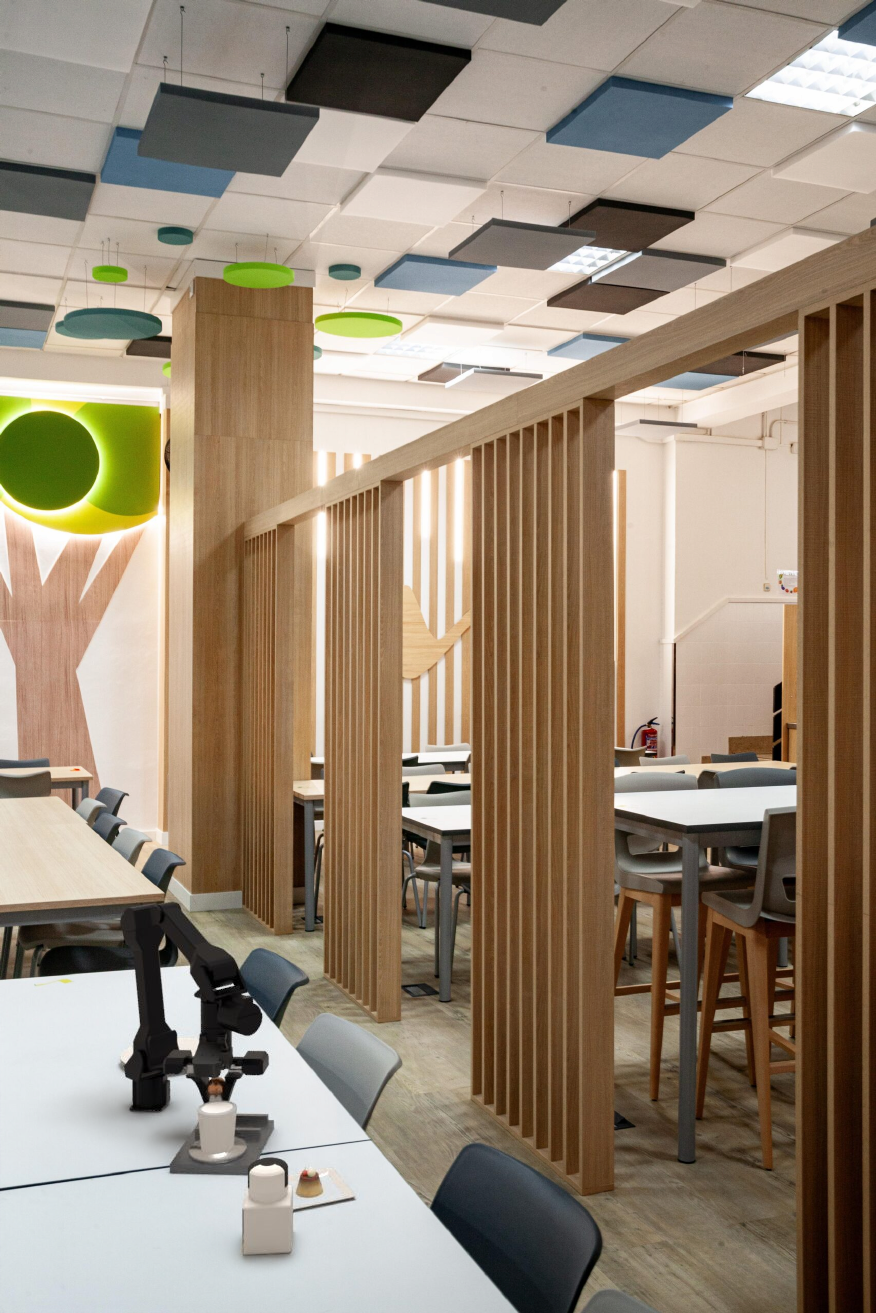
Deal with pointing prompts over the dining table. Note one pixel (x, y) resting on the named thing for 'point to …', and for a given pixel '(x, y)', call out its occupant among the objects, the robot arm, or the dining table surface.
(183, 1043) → the plate
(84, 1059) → the dining table surface
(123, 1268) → the dining table surface
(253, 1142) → the base
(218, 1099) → the press lever
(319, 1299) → the dining table surface
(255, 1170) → the medicine bottle
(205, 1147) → the white cup
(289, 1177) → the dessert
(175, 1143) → the dining table surface
